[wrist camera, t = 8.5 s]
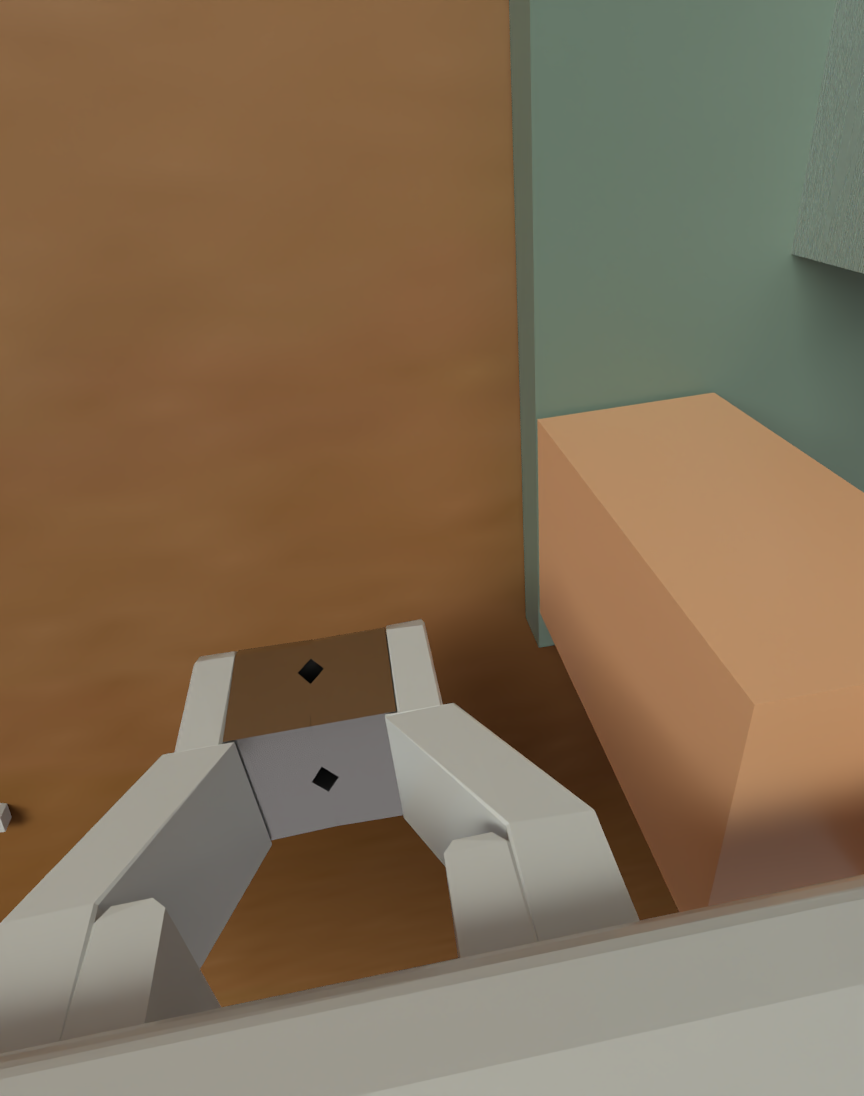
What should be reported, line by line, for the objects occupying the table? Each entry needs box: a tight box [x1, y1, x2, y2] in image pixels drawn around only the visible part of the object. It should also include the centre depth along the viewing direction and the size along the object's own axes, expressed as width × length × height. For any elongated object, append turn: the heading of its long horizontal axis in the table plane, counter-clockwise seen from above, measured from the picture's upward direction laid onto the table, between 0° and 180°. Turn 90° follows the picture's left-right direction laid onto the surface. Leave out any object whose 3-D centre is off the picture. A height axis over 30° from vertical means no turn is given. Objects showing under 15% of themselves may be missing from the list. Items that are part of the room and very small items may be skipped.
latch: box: [537, 393, 864, 912], centre depth 9 cm, size 4×6×7 cm, turn 96°
